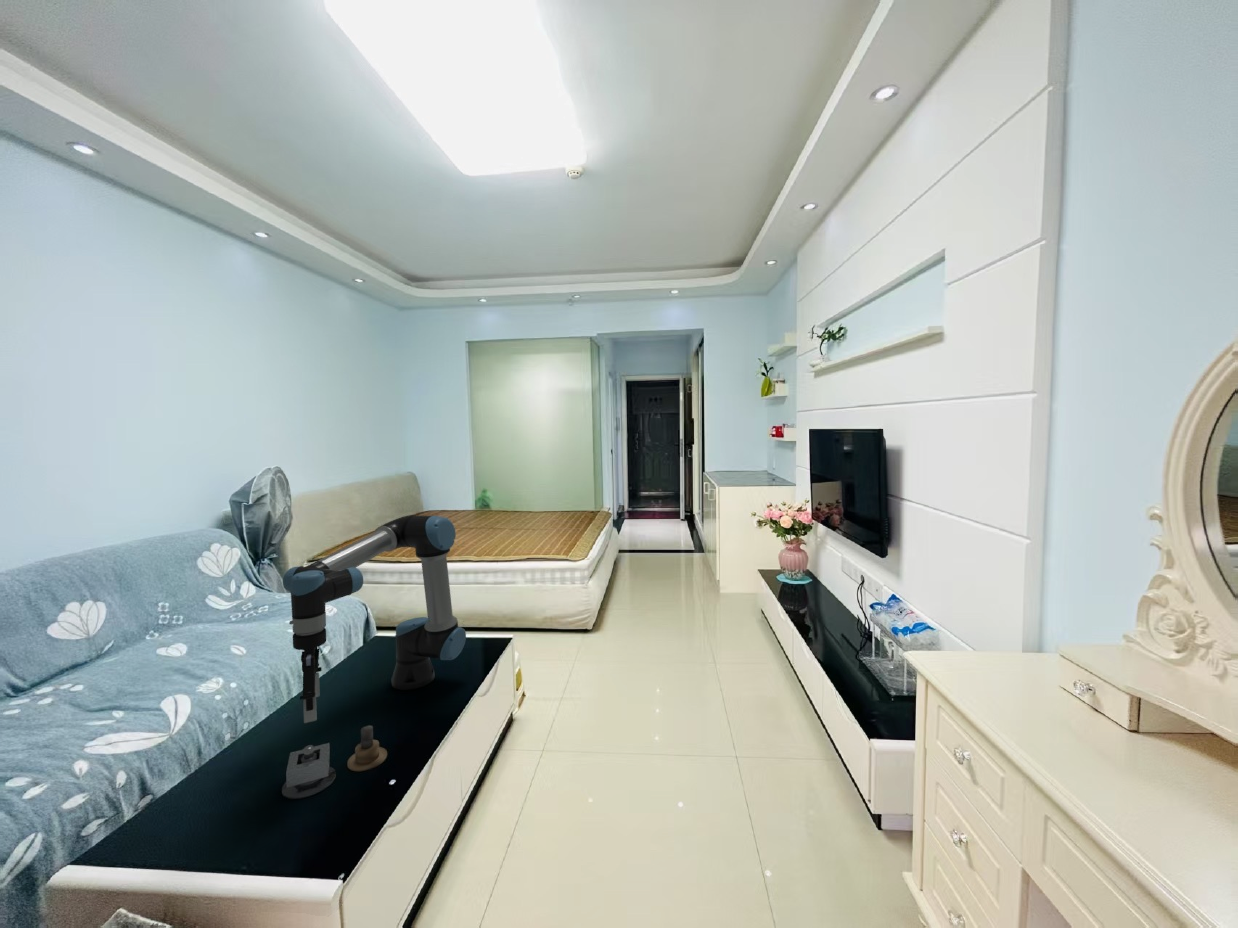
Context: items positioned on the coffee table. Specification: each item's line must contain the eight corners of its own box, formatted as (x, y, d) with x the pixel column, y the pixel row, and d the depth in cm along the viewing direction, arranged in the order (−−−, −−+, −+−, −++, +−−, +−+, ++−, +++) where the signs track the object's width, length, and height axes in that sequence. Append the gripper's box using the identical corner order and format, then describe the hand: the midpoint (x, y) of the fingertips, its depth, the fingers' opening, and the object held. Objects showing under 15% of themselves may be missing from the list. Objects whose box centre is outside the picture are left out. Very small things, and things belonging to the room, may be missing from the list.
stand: (373, 744, 145) (373, 715, 144) (394, 755, 139) (393, 725, 139) (339, 763, 136) (339, 732, 136) (360, 775, 131) (359, 743, 131)
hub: (321, 762, 137) (320, 729, 136) (345, 777, 130) (344, 742, 130) (273, 788, 126) (272, 752, 126) (296, 805, 120) (295, 767, 120)
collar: (329, 756, 134) (329, 742, 134) (328, 775, 126) (327, 760, 126) (290, 767, 130) (290, 752, 130) (286, 787, 122) (286, 772, 122)
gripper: (297, 618, 138) (299, 691, 139) (287, 650, 116) (290, 737, 117) (327, 613, 142) (330, 684, 143) (323, 644, 120) (326, 728, 121)
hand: (312, 708), depth 130 cm, fingers open, 13 cm apart
